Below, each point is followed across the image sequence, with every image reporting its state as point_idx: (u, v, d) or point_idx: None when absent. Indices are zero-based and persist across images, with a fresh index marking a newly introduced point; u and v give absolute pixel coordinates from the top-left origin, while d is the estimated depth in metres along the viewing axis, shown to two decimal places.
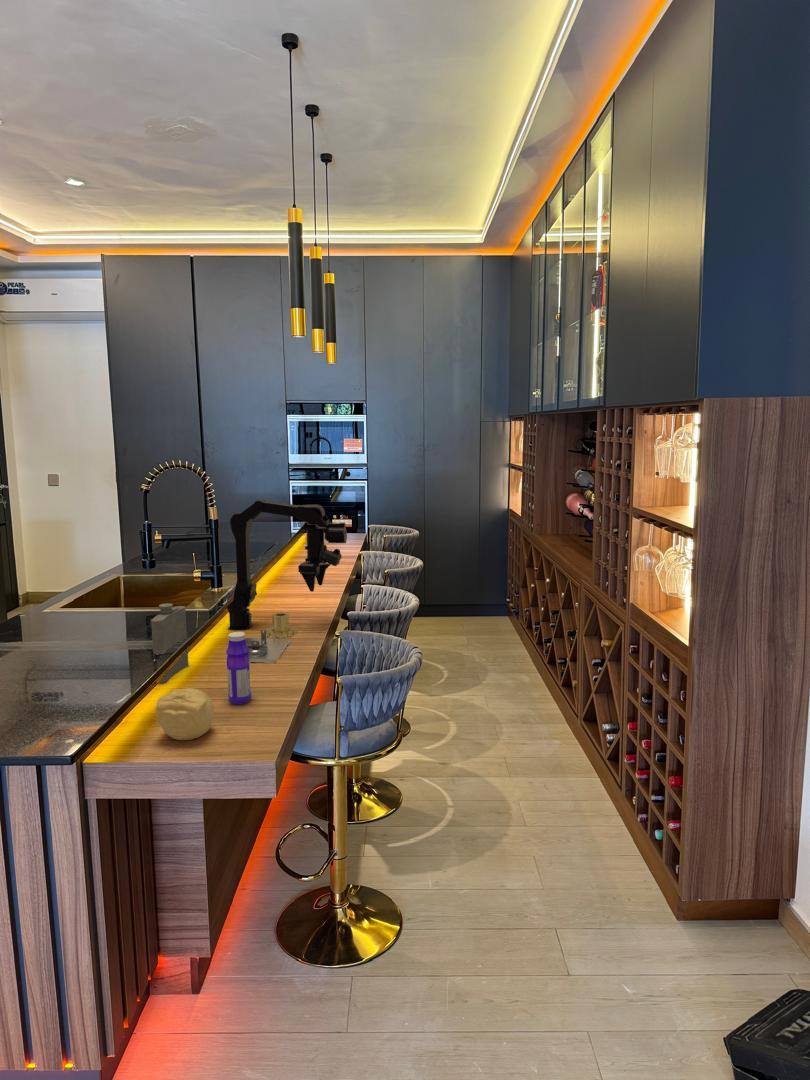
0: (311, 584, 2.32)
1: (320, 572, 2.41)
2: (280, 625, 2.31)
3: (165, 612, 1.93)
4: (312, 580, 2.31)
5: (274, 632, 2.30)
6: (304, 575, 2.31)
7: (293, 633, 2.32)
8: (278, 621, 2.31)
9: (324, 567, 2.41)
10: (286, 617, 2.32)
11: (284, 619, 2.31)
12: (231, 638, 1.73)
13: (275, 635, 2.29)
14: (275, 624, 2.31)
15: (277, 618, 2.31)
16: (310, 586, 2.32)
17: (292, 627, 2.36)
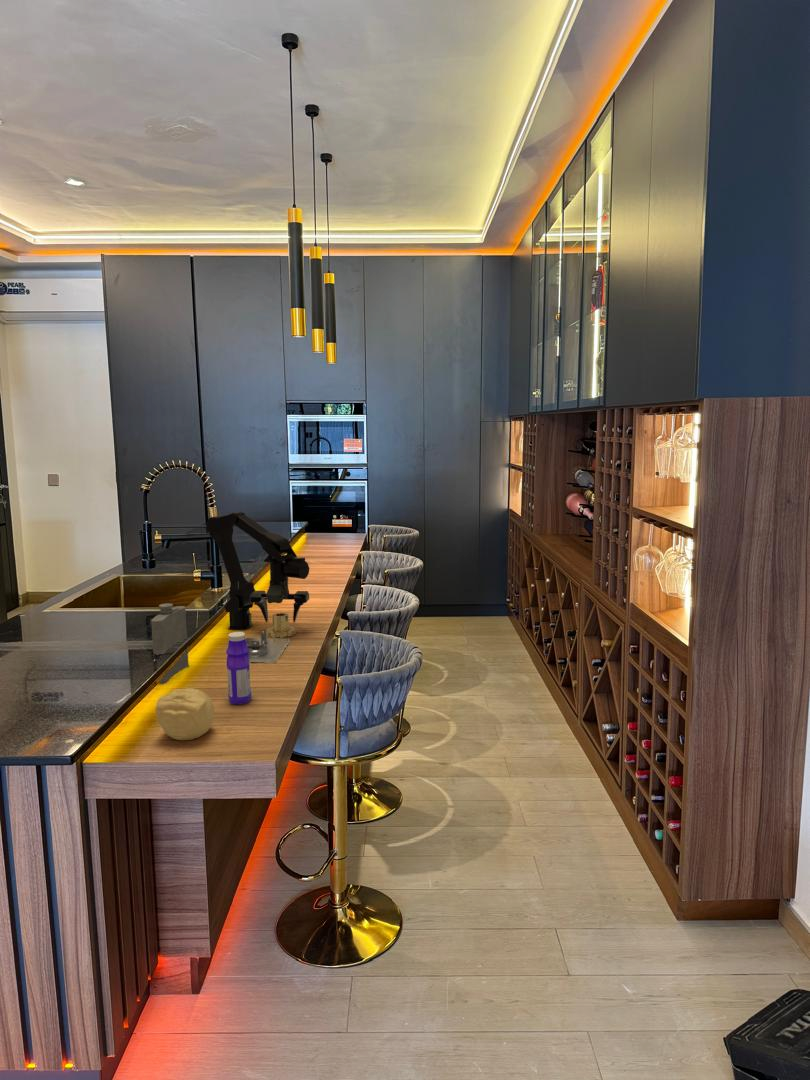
0: None
1: None
2: (280, 625, 2.31)
3: (165, 612, 1.93)
4: None
5: (274, 632, 2.30)
6: None
7: (293, 633, 2.32)
8: (278, 621, 2.31)
9: (294, 605, 2.31)
10: (286, 617, 2.32)
11: (284, 619, 2.31)
12: (231, 638, 1.73)
13: (275, 635, 2.29)
14: (275, 624, 2.31)
15: (277, 618, 2.31)
16: None
17: (292, 627, 2.36)
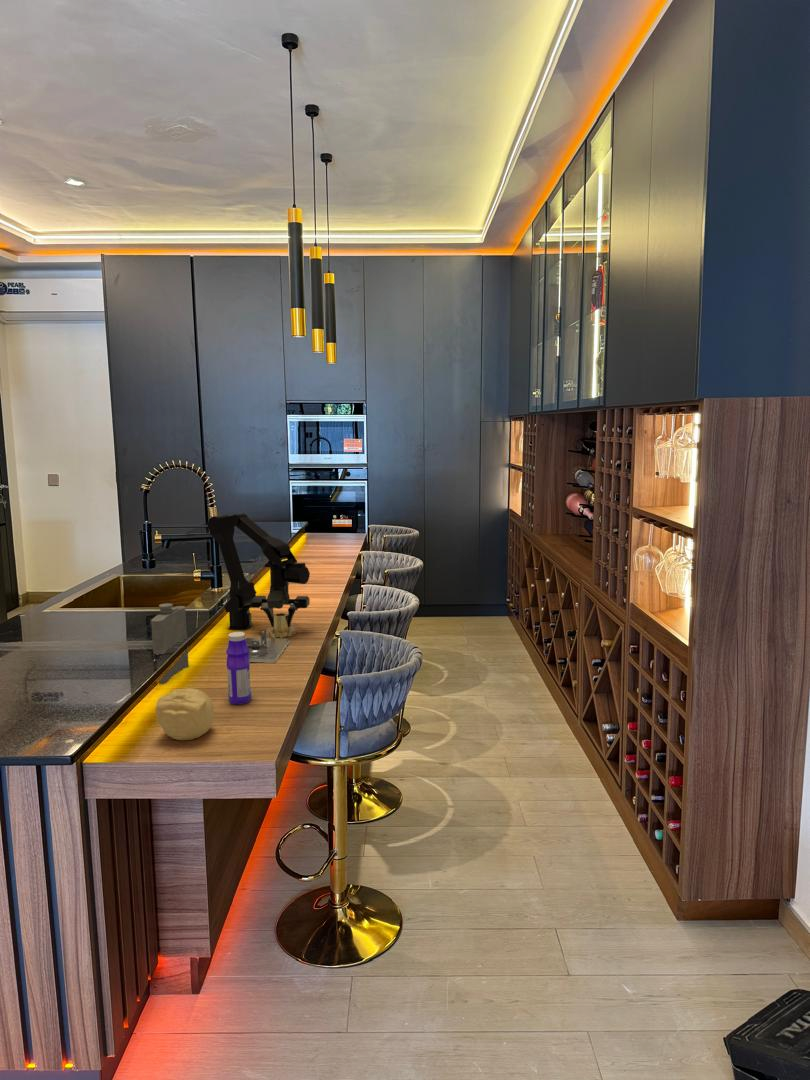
0: None
1: None
2: (280, 625, 2.31)
3: (165, 612, 1.93)
4: None
5: (274, 632, 2.30)
6: None
7: (293, 633, 2.32)
8: (278, 621, 2.31)
9: None
10: (286, 617, 2.32)
11: (284, 619, 2.31)
12: (231, 638, 1.73)
13: (275, 635, 2.29)
14: (275, 624, 2.31)
15: (277, 618, 2.31)
16: None
17: (292, 627, 2.36)
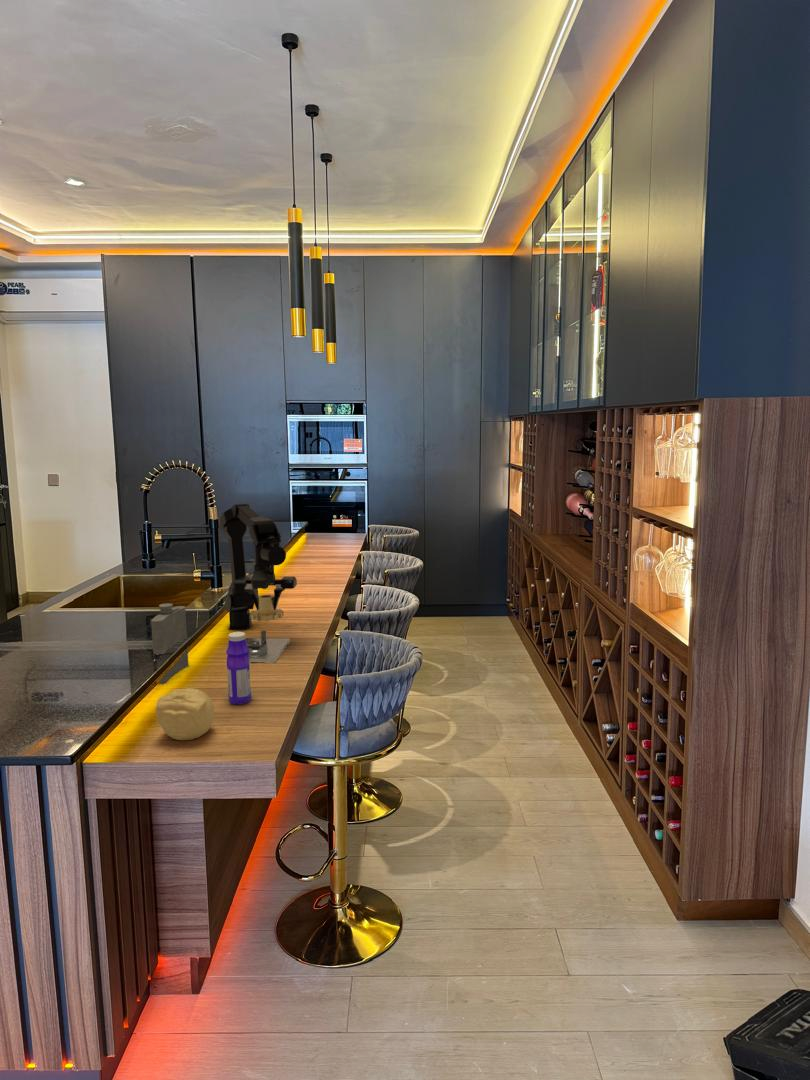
0: None
1: None
2: (266, 607, 2.18)
3: (165, 612, 1.93)
4: None
5: (259, 615, 2.17)
6: None
7: (279, 616, 2.19)
8: (263, 603, 2.17)
9: None
10: (272, 599, 2.19)
11: (270, 601, 2.18)
12: (231, 638, 1.73)
13: (260, 618, 2.16)
14: (260, 606, 2.18)
15: (262, 600, 2.17)
16: None
17: (278, 610, 2.23)
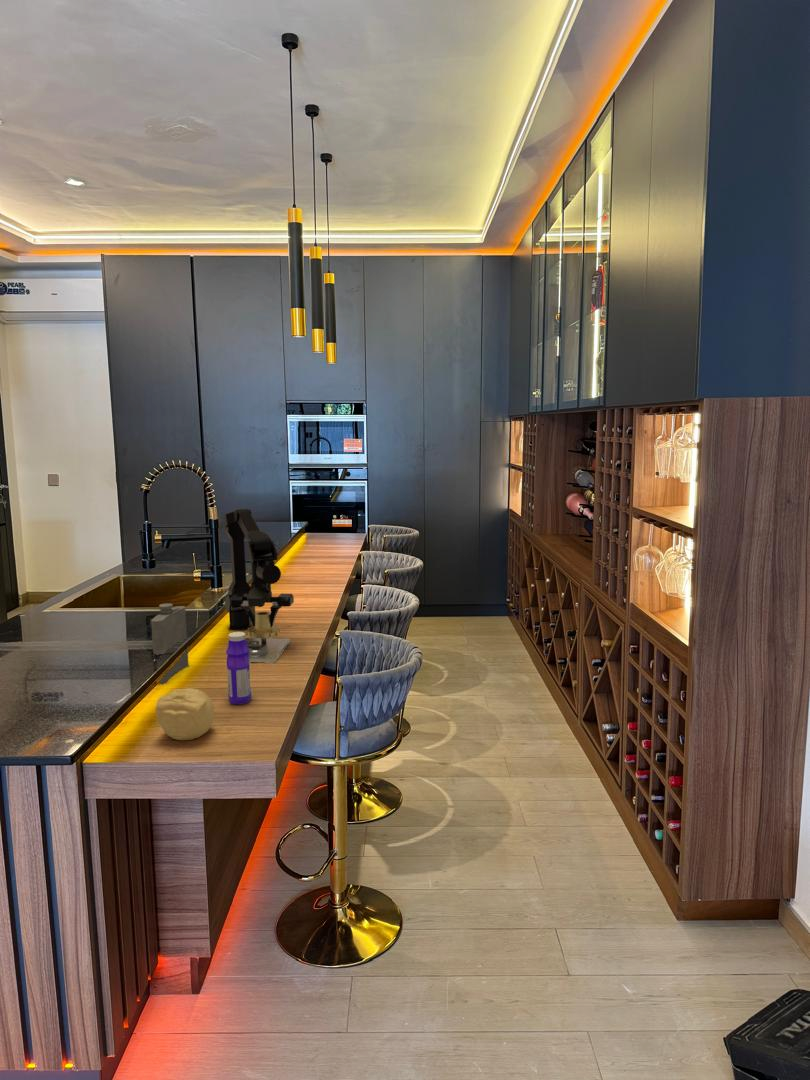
0: None
1: None
2: (262, 624, 2.16)
3: (165, 612, 1.93)
4: None
5: (255, 632, 2.16)
6: None
7: (276, 633, 2.17)
8: (260, 620, 2.16)
9: (271, 608, 2.16)
10: (268, 616, 2.17)
11: (266, 618, 2.17)
12: (231, 638, 1.73)
13: (256, 635, 2.15)
14: (257, 623, 2.17)
15: (259, 617, 2.16)
16: None
17: (275, 627, 2.21)
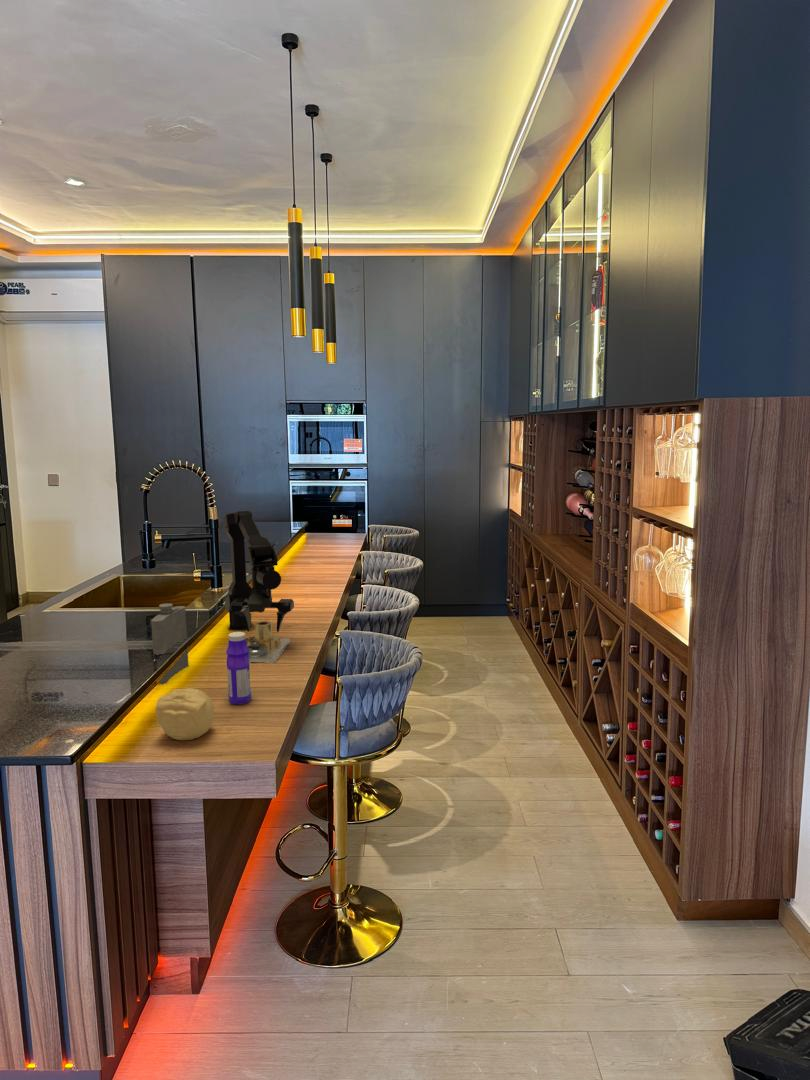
0: None
1: None
2: (262, 634, 2.17)
3: (165, 612, 1.93)
4: None
5: None
6: None
7: (276, 643, 2.18)
8: (260, 630, 2.17)
9: None
10: (269, 626, 2.18)
11: (267, 628, 2.17)
12: (231, 638, 1.73)
13: None
14: (257, 633, 2.17)
15: (259, 627, 2.16)
16: None
17: (275, 636, 2.22)
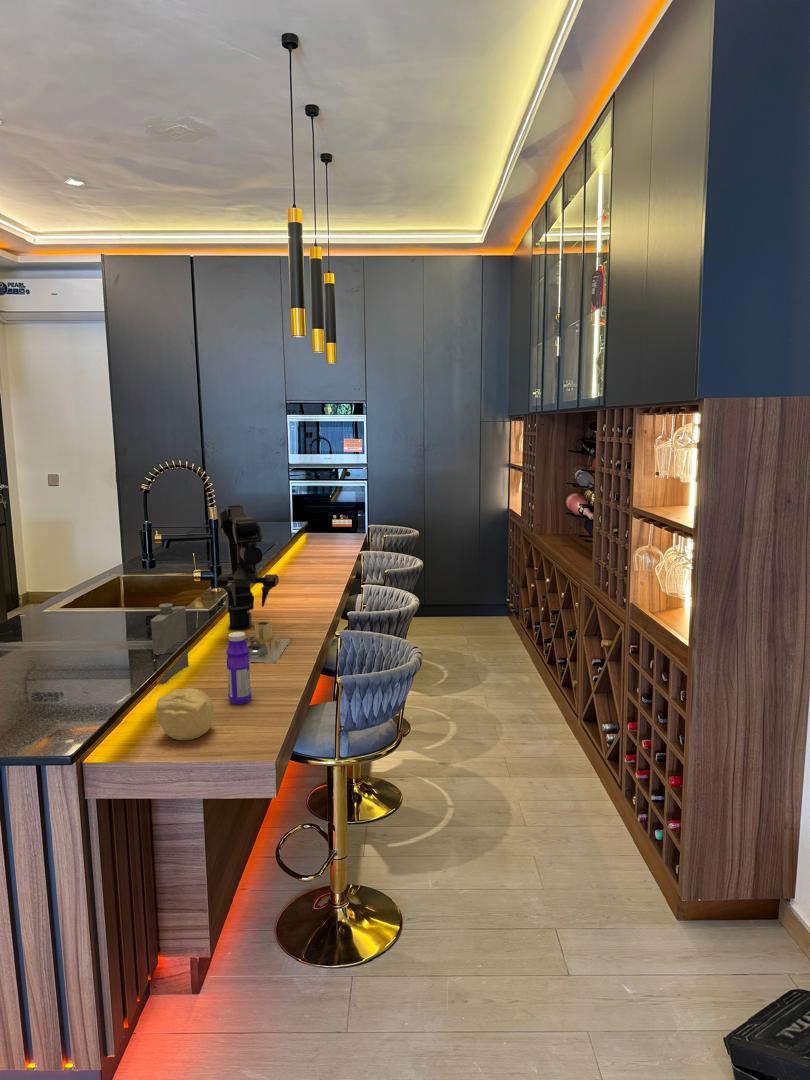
0: None
1: None
2: (262, 634, 2.17)
3: (165, 612, 1.93)
4: None
5: None
6: None
7: (276, 643, 2.18)
8: (260, 630, 2.17)
9: None
10: (269, 626, 2.18)
11: (267, 628, 2.17)
12: (231, 638, 1.73)
13: None
14: (257, 633, 2.17)
15: (259, 627, 2.16)
16: None
17: (275, 636, 2.22)
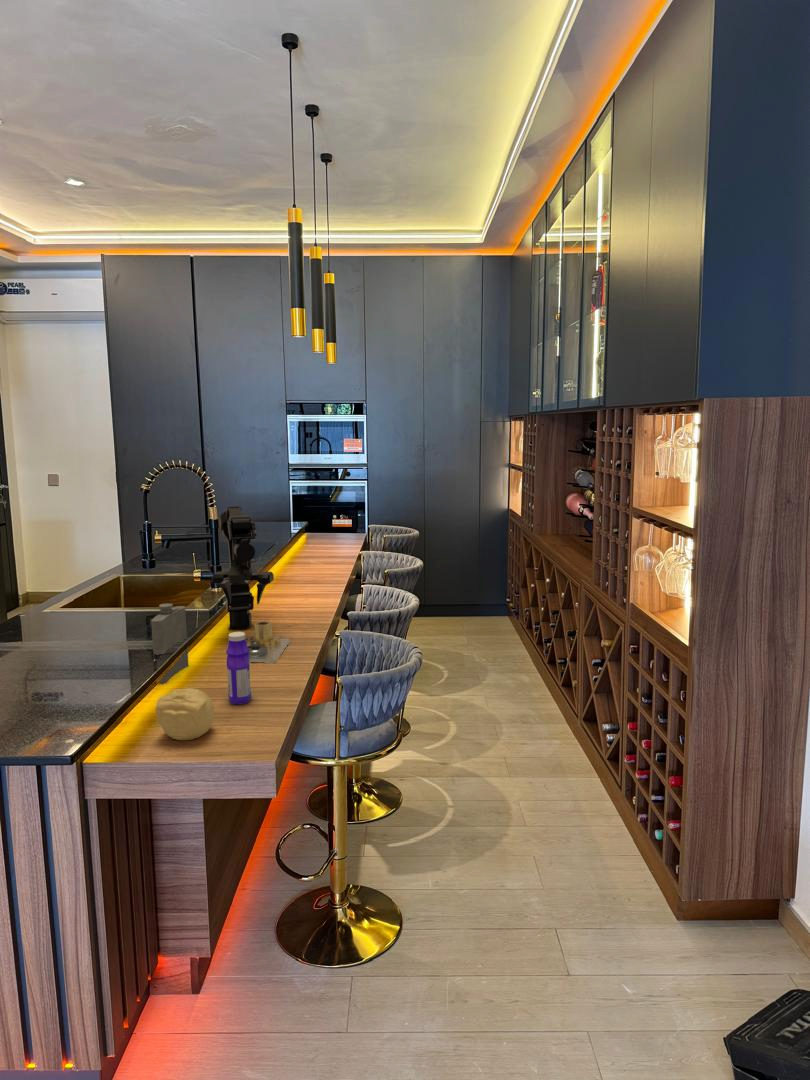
0: None
1: None
2: (262, 634, 2.17)
3: (165, 612, 1.93)
4: None
5: None
6: None
7: (276, 643, 2.18)
8: (260, 630, 2.17)
9: None
10: (269, 626, 2.18)
11: (267, 628, 2.17)
12: (231, 638, 1.73)
13: None
14: (257, 633, 2.17)
15: (259, 627, 2.16)
16: None
17: (275, 636, 2.22)
